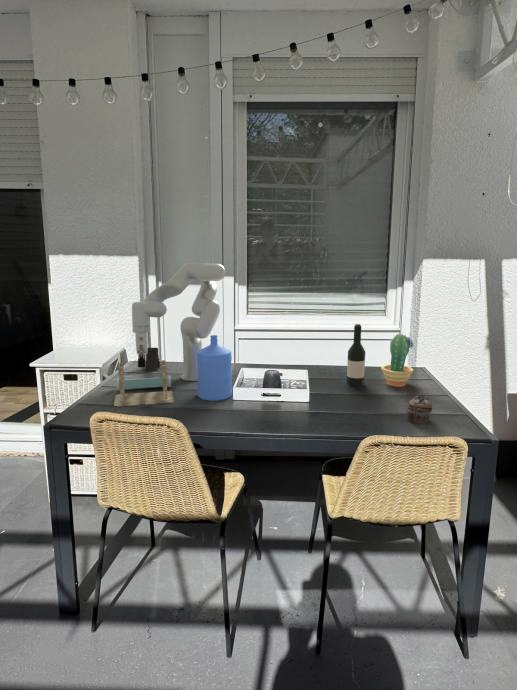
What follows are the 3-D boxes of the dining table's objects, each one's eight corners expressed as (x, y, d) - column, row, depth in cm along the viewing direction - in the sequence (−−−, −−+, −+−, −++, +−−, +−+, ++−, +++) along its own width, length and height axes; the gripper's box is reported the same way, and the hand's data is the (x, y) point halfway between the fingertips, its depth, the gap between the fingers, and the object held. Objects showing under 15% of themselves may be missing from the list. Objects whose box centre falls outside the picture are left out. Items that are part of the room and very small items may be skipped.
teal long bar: (170, 386, 239) (170, 374, 238) (171, 388, 233) (170, 375, 233) (117, 390, 233) (117, 377, 233) (116, 391, 227) (116, 378, 227)
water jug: (227, 402, 215) (226, 340, 209) (193, 400, 218) (191, 338, 212) (235, 391, 230) (235, 333, 223) (203, 389, 233) (202, 331, 226)
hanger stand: (172, 393, 226) (170, 359, 223) (173, 402, 215) (172, 366, 211) (116, 397, 221) (113, 362, 217) (114, 406, 209) (111, 369, 206)
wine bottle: (362, 381, 245) (365, 322, 239) (364, 386, 237) (367, 326, 230) (346, 381, 246) (348, 322, 239) (347, 386, 238) (349, 325, 231)
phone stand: (156, 371, 264) (155, 349, 261) (145, 371, 264) (144, 349, 261) (160, 367, 273) (159, 346, 270) (149, 366, 273) (148, 345, 270)
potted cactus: (405, 390, 231) (409, 338, 226) (375, 384, 241) (377, 334, 235) (417, 383, 243) (420, 333, 238) (387, 377, 253) (390, 330, 247)
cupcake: (425, 415, 200) (427, 391, 198) (434, 424, 190) (436, 399, 188) (402, 415, 200) (403, 392, 197) (410, 424, 190) (412, 400, 188)
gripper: (149, 331, 219) (150, 369, 222) (149, 325, 236) (149, 360, 239) (132, 332, 217) (133, 369, 221) (132, 325, 234) (133, 360, 237)
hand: (141, 364), depth 230 cm, fingers open, 9 cm apart
